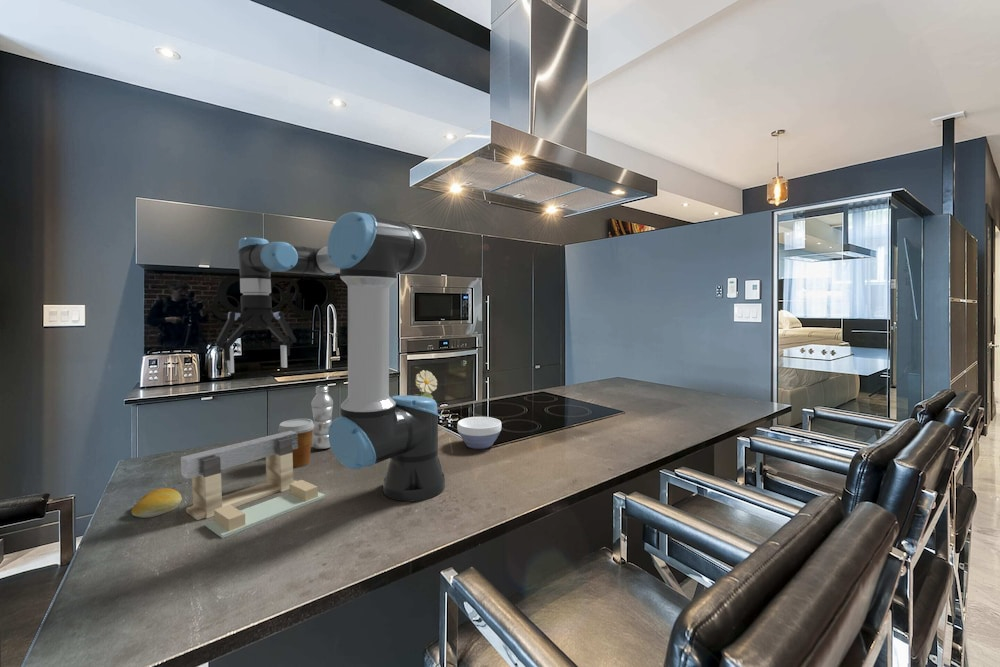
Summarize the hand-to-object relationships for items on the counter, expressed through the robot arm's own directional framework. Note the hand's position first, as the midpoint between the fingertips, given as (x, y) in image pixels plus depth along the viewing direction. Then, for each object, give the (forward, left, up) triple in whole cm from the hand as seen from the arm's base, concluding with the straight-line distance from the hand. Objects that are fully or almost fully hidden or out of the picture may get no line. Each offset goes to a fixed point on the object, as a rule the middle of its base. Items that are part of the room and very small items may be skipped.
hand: (258, 369), depth 120 cm
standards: (-19, +13, -27) cm, 36 cm away
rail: (-19, +13, -18) cm, 29 cm away
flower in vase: (-25, -36, -28) cm, 52 cm away
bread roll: (-8, +27, -28) cm, 39 cm away
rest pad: (-30, +13, -27) cm, 42 cm away
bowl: (-40, -50, -28) cm, 70 cm away
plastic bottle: (-1, -18, -28) cm, 33 cm away
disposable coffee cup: (-7, -6, -28) cm, 29 cm away
